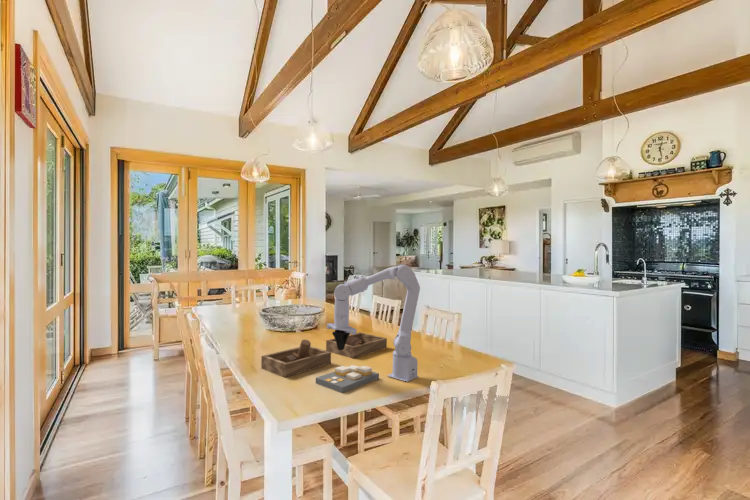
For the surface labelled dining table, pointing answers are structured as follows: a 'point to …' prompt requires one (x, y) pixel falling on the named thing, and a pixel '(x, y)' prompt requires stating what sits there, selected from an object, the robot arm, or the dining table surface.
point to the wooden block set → (300, 352)
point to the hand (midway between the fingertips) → (340, 349)
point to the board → (344, 381)
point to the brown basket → (356, 340)
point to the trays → (320, 355)
